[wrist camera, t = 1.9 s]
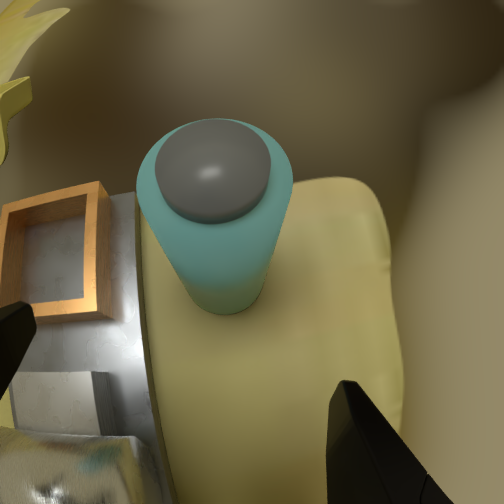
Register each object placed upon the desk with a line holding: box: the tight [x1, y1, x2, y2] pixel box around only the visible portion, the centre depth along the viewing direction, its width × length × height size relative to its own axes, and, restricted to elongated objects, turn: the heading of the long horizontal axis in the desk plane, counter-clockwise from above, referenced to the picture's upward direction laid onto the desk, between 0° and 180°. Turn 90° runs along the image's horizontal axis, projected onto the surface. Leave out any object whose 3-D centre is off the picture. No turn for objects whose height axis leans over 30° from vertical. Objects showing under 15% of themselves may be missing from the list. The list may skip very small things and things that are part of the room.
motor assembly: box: [0, 181, 179, 504], centre depth 14 cm, size 23×11×8 cm, turn 10°
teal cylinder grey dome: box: [136, 119, 293, 315], centre depth 15 cm, size 5×5×12 cm
